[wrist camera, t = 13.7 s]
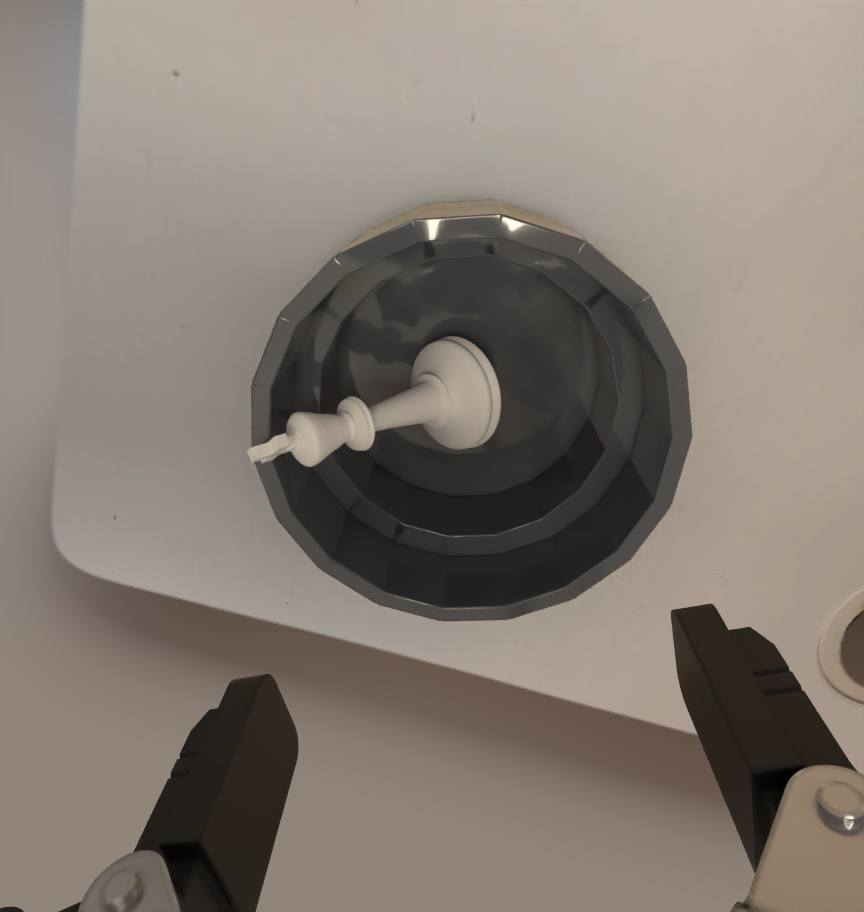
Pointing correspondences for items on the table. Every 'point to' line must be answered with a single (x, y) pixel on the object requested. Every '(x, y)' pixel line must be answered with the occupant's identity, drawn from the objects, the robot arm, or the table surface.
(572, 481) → the faceted round planter
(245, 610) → the table surface
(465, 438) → the chess piece
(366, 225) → the table surface
